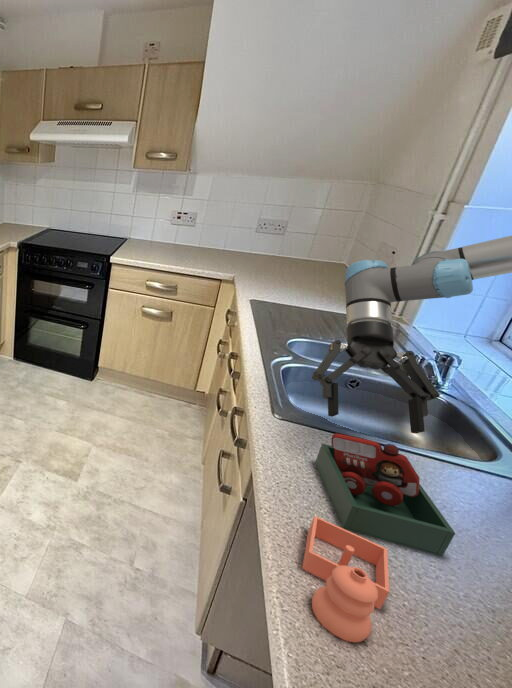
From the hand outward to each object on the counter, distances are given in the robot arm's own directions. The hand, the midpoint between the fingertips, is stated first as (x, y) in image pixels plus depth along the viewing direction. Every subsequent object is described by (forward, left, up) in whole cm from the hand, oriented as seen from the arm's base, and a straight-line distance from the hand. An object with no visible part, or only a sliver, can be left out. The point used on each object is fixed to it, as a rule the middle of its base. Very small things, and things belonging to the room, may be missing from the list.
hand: (374, 423), depth 82 cm
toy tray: (0, +10, -12) cm, 16 cm away
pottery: (+11, +32, -13) cm, 36 cm away
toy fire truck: (0, +7, -11) cm, 13 cm away
